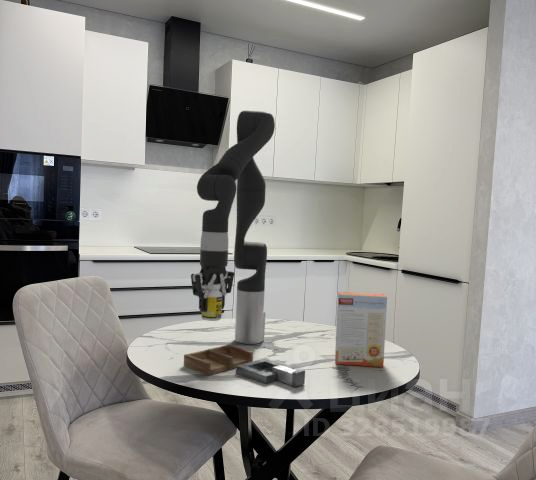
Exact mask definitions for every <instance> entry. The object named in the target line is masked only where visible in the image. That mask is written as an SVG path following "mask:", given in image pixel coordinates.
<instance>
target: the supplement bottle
mask: <svg viewBox="0 0 536 480" xmlns="http://www.w3.org/2000/svg"><path fill="white" fill-rule="evenodd" d="M205 286H207V285H205ZM219 290H220V284H213V285H212V288H211V290H210V291H209V293H208V296H207V298H208V299H207V312H202V311H201V319H202V320H203V321H208V322H218V321H220V320H221V319H222V312H223V311H222V310H223V309H222V293H221V292H220V291H219Z"/></svg>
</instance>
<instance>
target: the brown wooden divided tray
mask: <svg viewBox="0 0 536 480" xmlns="http://www.w3.org/2000/svg"><path fill="white" fill-rule="evenodd" d="M253 359H254V351H251V350H248V349H244V348H241V347H238V346H235V345H232V344H226V345H221V346H217V347H212V348H207V349H204V350H199V351H195V352H190V353H186V354H183V367H185V368H187V369H190V370H193V371H195V372H197V373H199V374H202V375H205V376H211V375H213V374H219V373H222V372H225V371H228V370H232V369H236V366H238V365H241V364H245V363H249V362H252V361H254V360H253Z"/></svg>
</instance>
